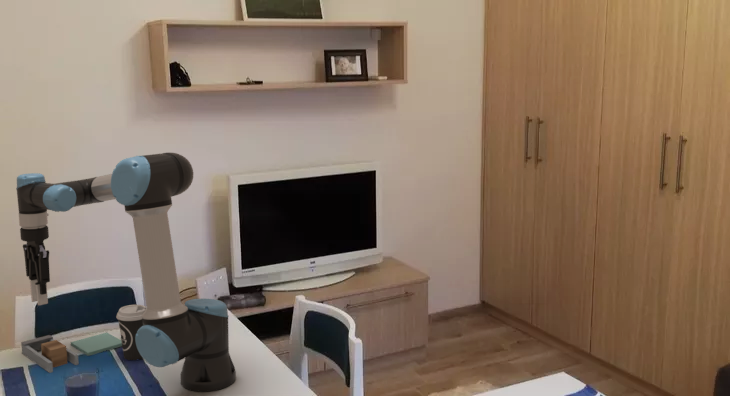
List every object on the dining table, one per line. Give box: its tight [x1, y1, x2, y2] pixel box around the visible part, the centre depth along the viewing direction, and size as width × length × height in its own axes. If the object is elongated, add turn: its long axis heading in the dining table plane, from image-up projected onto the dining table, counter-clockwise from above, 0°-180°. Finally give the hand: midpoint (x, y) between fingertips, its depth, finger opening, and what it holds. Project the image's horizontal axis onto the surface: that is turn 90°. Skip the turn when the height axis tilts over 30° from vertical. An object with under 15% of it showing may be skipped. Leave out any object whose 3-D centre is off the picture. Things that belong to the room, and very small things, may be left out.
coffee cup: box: [115, 304, 147, 361], centre depth 212 cm, size 10×10×15 cm
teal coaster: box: [70, 332, 122, 357], centre depth 221 cm, size 12×12×1 cm
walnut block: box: [41, 339, 68, 369], centre depth 208 cm, size 7×4×6 cm, turn 46°
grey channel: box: [20, 334, 80, 374], centre depth 210 cm, size 20×8×4 cm, turn 46°
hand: (39, 302), depth 211 cm, fingers open, 4 cm apart
